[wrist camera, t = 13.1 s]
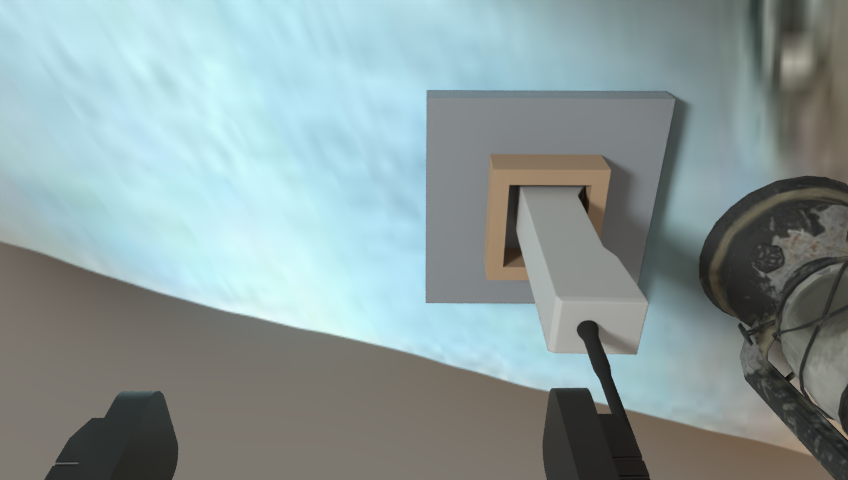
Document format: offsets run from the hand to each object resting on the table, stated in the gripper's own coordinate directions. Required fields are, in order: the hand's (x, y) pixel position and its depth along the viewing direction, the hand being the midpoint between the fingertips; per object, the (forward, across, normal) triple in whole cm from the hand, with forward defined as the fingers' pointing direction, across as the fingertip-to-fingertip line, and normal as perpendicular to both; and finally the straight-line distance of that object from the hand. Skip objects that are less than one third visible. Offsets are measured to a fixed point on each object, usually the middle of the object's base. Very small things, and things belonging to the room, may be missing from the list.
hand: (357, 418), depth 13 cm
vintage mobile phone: (+34, -12, +12) cm, 38 cm away
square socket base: (+36, -11, +13) cm, 40 cm away
